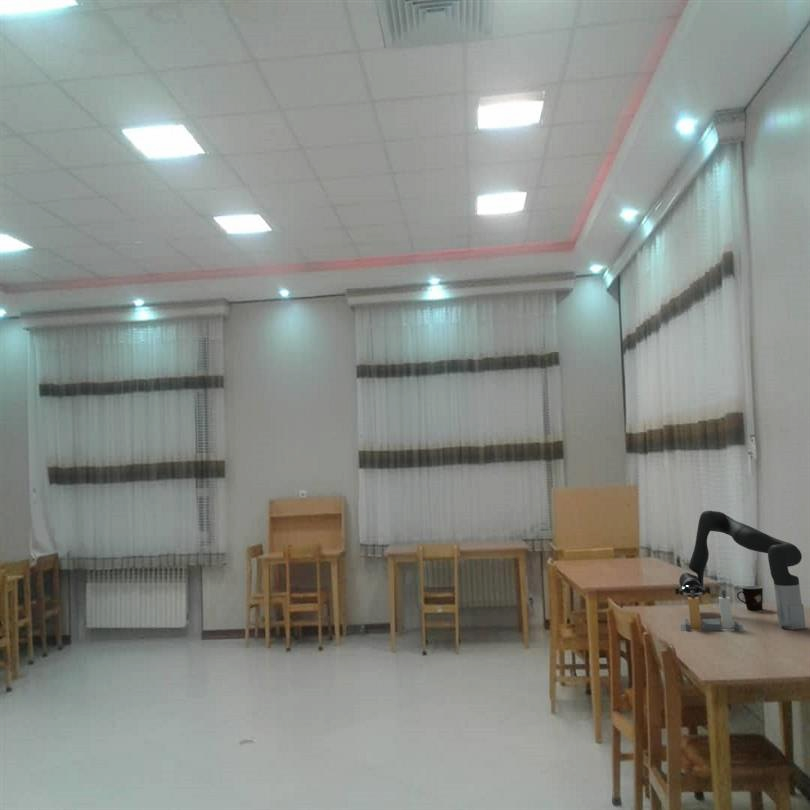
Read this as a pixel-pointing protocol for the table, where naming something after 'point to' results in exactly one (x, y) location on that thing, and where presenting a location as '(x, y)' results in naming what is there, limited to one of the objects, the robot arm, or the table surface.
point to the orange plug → (694, 611)
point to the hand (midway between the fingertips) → (692, 592)
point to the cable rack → (712, 626)
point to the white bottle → (725, 611)
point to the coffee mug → (752, 597)
